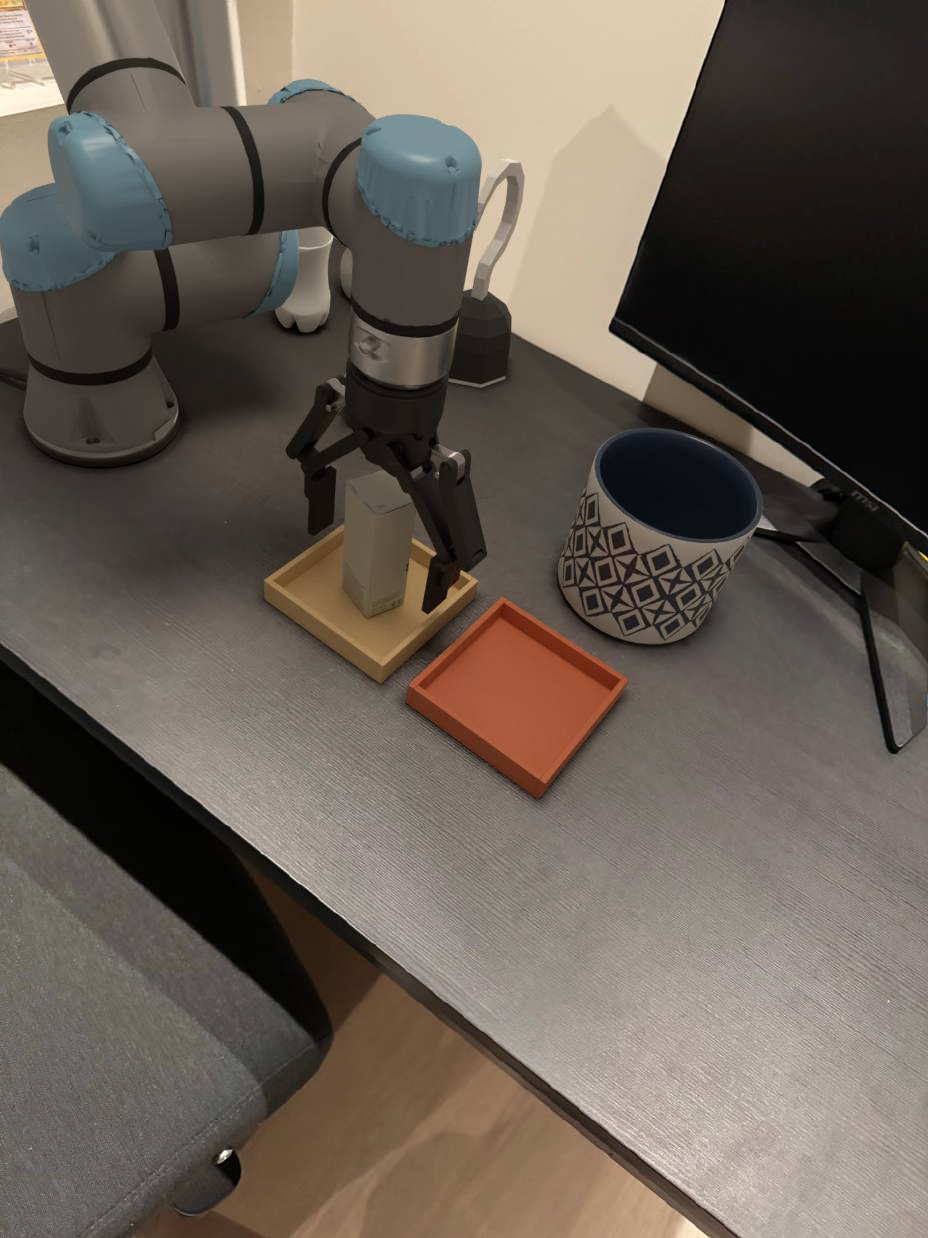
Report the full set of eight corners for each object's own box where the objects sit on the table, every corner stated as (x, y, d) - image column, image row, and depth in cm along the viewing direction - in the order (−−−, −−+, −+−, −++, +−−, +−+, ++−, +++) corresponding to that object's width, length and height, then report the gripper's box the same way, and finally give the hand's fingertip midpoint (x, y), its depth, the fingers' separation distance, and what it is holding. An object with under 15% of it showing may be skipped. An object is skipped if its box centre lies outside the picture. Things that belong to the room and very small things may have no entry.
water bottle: (274, 304, 111) (271, 94, 92) (329, 309, 112) (337, 103, 94) (272, 334, 107) (269, 119, 88) (329, 339, 108) (338, 128, 89)
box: (405, 604, 80) (422, 502, 70) (365, 620, 78) (377, 518, 68) (376, 567, 82) (388, 465, 73) (337, 583, 80) (344, 479, 71)
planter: (545, 530, 91) (579, 420, 80) (683, 537, 94) (734, 432, 83) (570, 645, 81) (613, 538, 70) (724, 650, 83) (788, 547, 73)
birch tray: (264, 599, 78) (263, 580, 76) (364, 525, 87) (366, 507, 85) (380, 684, 74) (383, 666, 72) (474, 598, 83) (478, 580, 81)
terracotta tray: (404, 702, 73) (408, 684, 71) (497, 613, 82) (502, 596, 80) (538, 799, 69) (545, 783, 67) (621, 696, 78) (629, 679, 76)
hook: (486, 398, 105) (529, 193, 86) (410, 365, 107) (436, 157, 88) (523, 359, 112) (571, 162, 93) (451, 328, 114) (484, 129, 96)
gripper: (237, 306, 63) (247, 516, 78) (508, 468, 55) (459, 663, 71) (308, 275, 67) (304, 480, 83) (567, 421, 60) (508, 615, 76)
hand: (375, 565), depth 77 cm, fingers open, 13 cm apart
